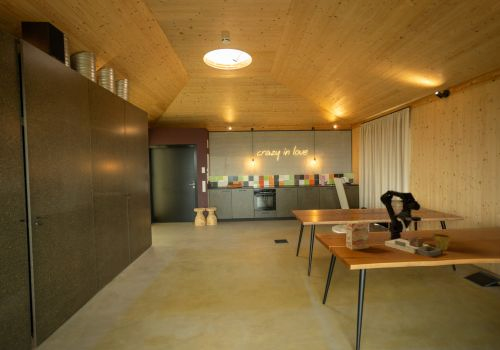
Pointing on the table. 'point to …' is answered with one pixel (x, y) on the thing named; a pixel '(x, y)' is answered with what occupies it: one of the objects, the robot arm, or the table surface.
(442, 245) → the plant pot
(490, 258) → the table surface
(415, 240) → the walnut block
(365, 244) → the coffeecake box
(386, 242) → the tunnel deck
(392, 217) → the robot arm
